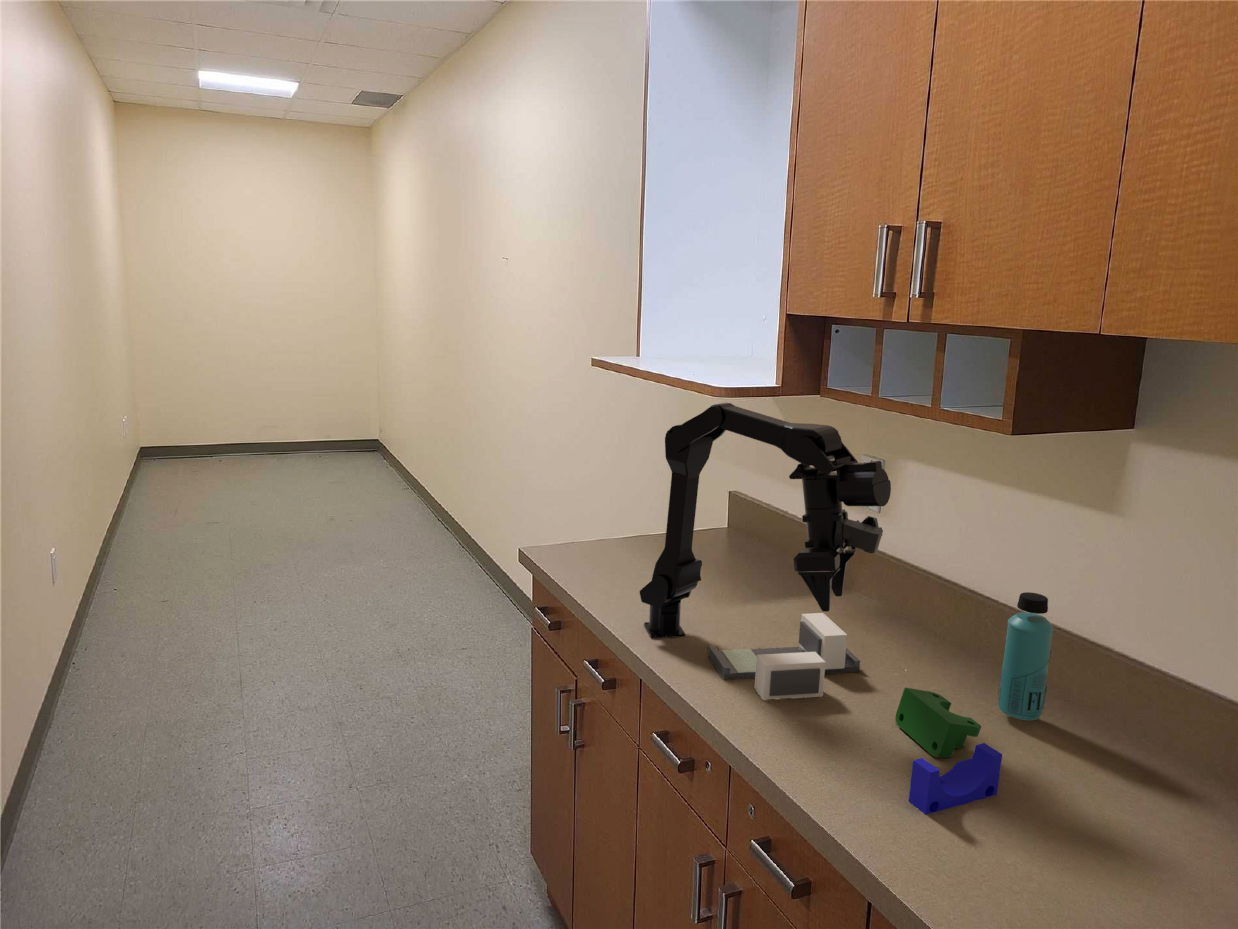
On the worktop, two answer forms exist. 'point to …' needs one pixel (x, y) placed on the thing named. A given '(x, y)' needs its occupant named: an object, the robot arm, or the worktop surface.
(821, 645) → the block
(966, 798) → the blue bracket
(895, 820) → the worktop surface
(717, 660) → the rail
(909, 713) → the clamp
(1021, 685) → the beverage bottle
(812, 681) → the white rectangular prism
